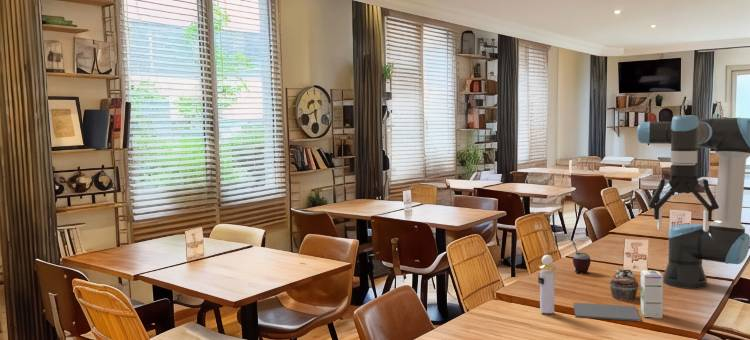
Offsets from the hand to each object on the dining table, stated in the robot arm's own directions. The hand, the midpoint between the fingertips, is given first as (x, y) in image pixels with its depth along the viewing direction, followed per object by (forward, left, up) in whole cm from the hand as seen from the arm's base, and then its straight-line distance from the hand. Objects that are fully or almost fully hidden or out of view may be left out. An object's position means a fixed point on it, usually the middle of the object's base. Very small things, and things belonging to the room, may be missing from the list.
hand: (682, 230), depth 191 cm
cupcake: (+15, -19, -29) cm, 38 cm away
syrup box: (+9, 0, -29) cm, 30 cm away
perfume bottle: (+42, +5, -29) cm, 51 cm away
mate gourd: (+28, -52, -29) cm, 66 cm away
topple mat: (+23, 0, -29) cm, 37 cm away
